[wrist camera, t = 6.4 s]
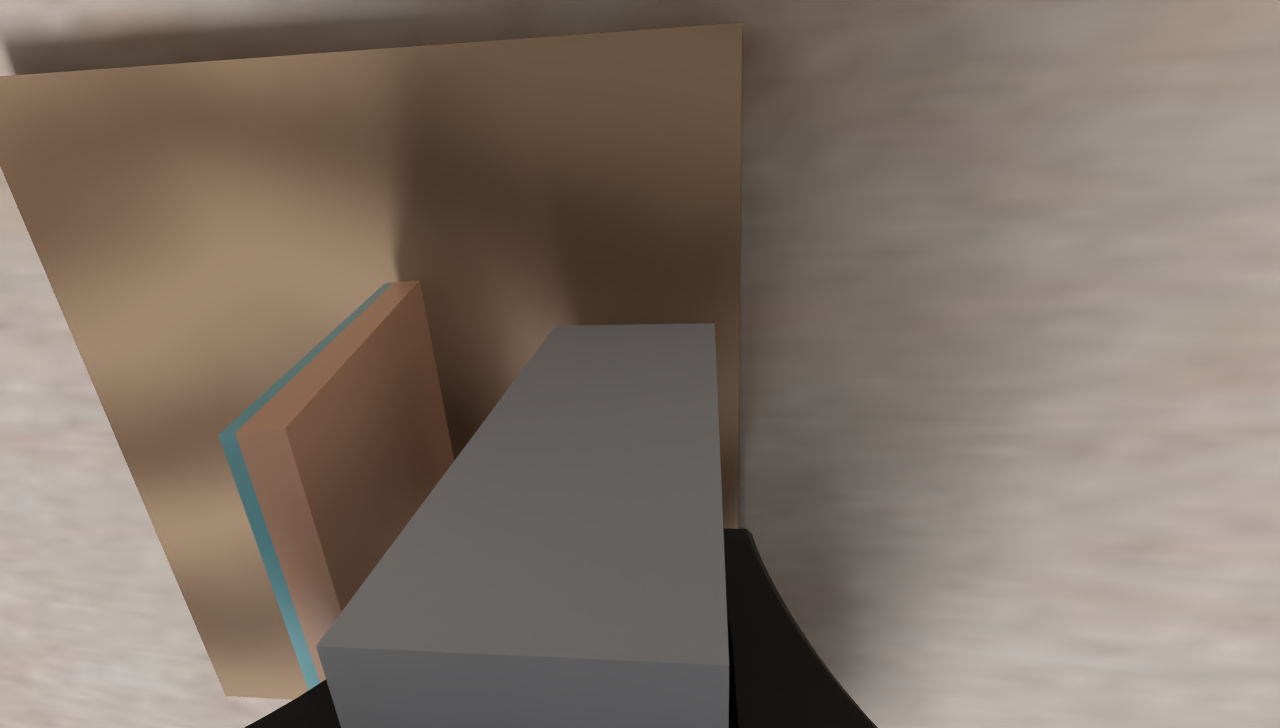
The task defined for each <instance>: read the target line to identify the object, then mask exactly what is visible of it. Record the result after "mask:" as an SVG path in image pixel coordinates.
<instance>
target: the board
mask: <svg viewBox="0 0 1280 728" xmlns="http://www.w3.org/2000/svg"><path fill="white" fill-rule="evenodd" d="M741 119H742V22H741V23H727V24H713V25H699V26H686V27H672V28H658V29H644V30H631V31H617V32H603V33H589V34H576V35H562V36H548V37H534V38H521V39H507V40H493V41H479V42H466V43H452V44H438V45H424V46H411V47H397V48H383V49H369V50H356V51H342V52H328V53H314V54H301V55H287V56H273V57H260V58H246V59H232V60H218V61H205V62H191V63H177V64H163V65H150V66H136V67H122V68H108V69H95V70H81V71H67V72H53V73H40V74H26V75H12V76H0V166H1V169H2V171H3V173H4V176H5V178H6V180H7V183H8V185H9V188H10V190H11V192H12V195H13V197H14V199H15V202H16V204H17V206H18V209H19V211H20V213H21V216H22V218H23V220H24V223H25V225H26V227H27V230H28V232H29V235H30V237H31V239H32V242H33V244H34V246H35V249H36V251H37V253H38V256H39V258H40V260H41V263H42V265H43V267H44V270H45V272H46V274H47V277H48V279H49V281H50V284H51V286H52V289H53V291H54V293H55V296H56V298H57V300H58V303H59V305H60V307H61V310H62V312H63V314H64V317H65V319H66V321H67V324H68V326H69V328H70V331H71V333H72V336H73V338H74V340H75V343H76V345H77V347H78V350H79V352H80V354H81V357H82V359H83V361H84V364H85V366H86V368H87V371H88V373H89V375H90V378H91V380H92V383H93V385H94V387H95V390H96V392H97V394H98V397H99V399H100V401H101V404H102V406H103V408H104V411H105V413H106V415H107V418H108V420H109V422H110V425H111V427H112V430H113V432H114V434H115V437H116V439H117V441H118V444H119V446H120V448H121V451H122V453H123V455H124V458H125V460H126V462H127V465H128V467H129V469H130V472H131V474H132V476H133V479H134V481H135V484H136V486H137V488H138V491H139V493H140V495H141V498H142V500H143V502H144V505H145V507H146V509H147V512H148V514H149V516H150V519H151V521H152V523H153V526H154V528H155V531H156V533H157V535H158V538H159V540H160V542H161V545H162V547H163V549H164V552H165V554H166V556H167V559H168V561H169V563H170V566H171V568H172V570H173V573H174V575H175V578H176V580H177V582H178V585H179V587H180V589H181V592H182V594H183V596H184V599H185V601H186V603H187V606H188V608H189V610H190V613H191V615H192V617H193V620H194V622H195V625H196V627H197V629H198V632H199V634H200V636H201V639H202V641H203V643H204V646H205V648H206V650H207V653H208V655H209V657H210V660H211V662H212V664H213V667H214V669H215V672H216V674H217V676H218V679H219V681H220V683H221V686H222V688H223V690H224V693H225V695H226V696H238V697H257V698H276V699H296V698H298V697H299V696H301V695H302V694H304V693H305V692H307V691H308V687H307V684H306V682H305V679H304V676H303V673H302V670H301V667H300V665H299V662H298V659H297V656H296V653H295V650H294V648H293V645H292V642H291V639H290V636H289V633H288V631H287V628H286V625H285V622H284V619H283V617H282V614H281V611H280V608H279V605H278V602H277V600H276V597H275V594H274V591H273V588H272V585H271V583H270V580H269V577H268V574H267V571H266V568H265V566H264V563H263V560H262V557H261V554H260V551H259V549H258V546H257V543H256V540H255V537H254V535H253V532H252V529H251V526H250V523H249V520H248V518H247V515H246V512H245V509H244V506H243V503H242V501H241V498H240V495H239V492H238V489H237V486H236V484H235V481H234V478H233V475H232V472H231V469H230V467H229V464H228V461H227V458H226V455H225V453H224V450H223V447H222V444H221V441H220V438H219V436H218V434H219V433H221V432H222V431H223V430H224V429H225V428H226V427H227V426H228V425H229V424H230V423H232V422H233V421H234V420H235V419H236V418H237V417H238V416H239V415H240V414H241V413H243V412H244V411H245V410H246V409H247V408H248V407H249V406H250V405H251V404H253V403H254V402H255V401H256V400H257V399H258V398H259V397H260V396H261V395H262V394H264V393H265V392H266V391H267V390H268V389H269V388H270V387H271V386H272V385H273V384H275V383H276V382H277V381H278V380H279V379H280V378H281V377H282V376H283V375H284V374H286V373H287V372H288V371H289V370H290V369H291V368H292V367H293V366H294V365H295V364H297V363H298V362H299V361H300V360H301V359H302V358H303V357H304V356H305V355H307V354H308V353H309V352H310V351H311V350H312V349H313V348H314V347H315V346H316V345H318V344H319V343H320V342H321V341H322V340H323V339H324V338H325V337H326V336H327V335H329V334H330V333H331V332H332V331H333V330H334V329H335V328H336V327H337V326H338V325H340V324H341V323H342V322H343V321H344V320H345V319H346V318H347V317H348V316H349V315H351V314H352V313H353V312H354V311H355V310H356V309H357V308H358V307H359V306H361V305H362V304H363V303H364V302H365V301H366V300H367V299H368V298H369V297H370V296H372V295H373V294H374V293H375V292H376V291H377V290H378V289H379V288H380V287H381V286H383V285H384V284H385V283H392V282H405V281H418V280H420V285H421V290H422V296H423V301H424V306H425V311H426V316H427V321H428V327H429V332H430V337H431V342H432V347H433V353H434V358H435V363H436V368H437V373H438V379H439V384H440V389H441V394H442V399H443V404H444V410H445V415H446V420H447V425H448V430H449V436H450V441H451V446H452V451H453V456H454V461H455V459H456V458H457V457H458V455H459V454H460V453H461V451H462V450H463V449H464V447H465V446H466V445H467V443H468V442H469V441H470V439H471V438H472V437H473V435H474V434H475V433H476V431H477V430H478V429H479V427H480V426H481V425H482V423H483V422H484V421H485V419H486V418H487V417H488V415H489V414H490V413H491V411H492V410H493V409H494V407H495V406H496V404H497V403H498V402H499V400H500V399H501V398H502V396H503V395H504V394H505V392H506V391H507V390H508V388H509V387H510V386H511V384H512V383H513V382H514V380H515V379H516V378H517V376H518V375H519V374H520V372H521V371H522V370H523V368H524V367H525V366H526V364H527V363H528V362H529V360H530V359H531V358H532V356H533V355H534V354H535V352H536V351H537V350H538V348H539V347H540V346H541V344H542V343H543V342H544V340H545V339H546V338H547V336H548V335H549V334H550V332H551V331H552V329H553V328H554V327H555V326H566V325H635V324H704V323H715V344H716V368H717V391H718V415H719V438H720V462H721V485H722V509H723V528H728V529H738V469H739V352H740V236H741Z"/></svg>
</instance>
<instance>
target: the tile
mask: <svg viewBox="0 0 1280 728" xmlns="http://www.w3.org/2000/svg"><path fill="white" fill-rule="evenodd" d="M218 436H219V438H220V441H221V444H222V447H223V450H224V453H225V455H226V458H227V461H228V464H229V467H230V469H231V472H232V475H233V478H234V481H235V484H236V486H237V489H238V492H239V495H240V498H241V501H242V503H243V506H244V509H245V512H246V515H247V518H248V520H249V523H250V526H251V529H252V532H253V535H254V537H255V540H256V543H257V546H258V549H259V551H260V554H261V557H262V560H263V563H264V566H265V568H266V571H267V574H268V577H269V580H270V583H271V585H272V588H273V591H274V594H275V597H276V600H277V602H278V605H279V608H280V611H281V614H282V617H283V619H284V622H285V625H286V628H287V631H288V633H289V636H290V639H291V642H292V645H293V648H294V650H295V653H296V656H297V659H298V662H299V665H300V667H301V670H302V673H303V676H304V679H305V682H306V684H307V687H308V690H310V689H312V688H313V687H315V686H316V685H318V684H319V683H321V682H322V681H324V680H326V677H325V674H324V671H323V667H322V664H321V661H320V658H319V654H318V651H317V648H316V646H317V644H318V643H319V642H320V640H321V639H322V638H323V636H324V635H325V634H326V632H327V631H328V630H329V628H330V627H331V626H332V624H333V623H334V621H335V620H336V619H337V617H338V616H339V615H340V613H341V612H342V611H343V609H344V608H345V607H346V605H347V604H348V603H349V601H350V600H351V599H352V597H353V596H354V595H355V593H356V592H357V591H358V589H359V588H360V587H361V585H362V584H363V583H364V581H365V580H366V579H367V577H368V576H369V575H370V573H371V572H372V571H373V569H374V568H375V567H376V565H377V564H378V563H379V561H380V560H381V559H382V557H383V556H384V555H385V553H386V552H387V550H388V549H389V548H390V546H391V545H392V544H393V542H394V541H395V540H396V538H397V537H398V536H399V534H400V533H401V532H402V530H403V529H404V528H405V526H406V525H407V524H408V522H409V521H410V520H411V518H412V517H413V516H414V514H415V513H416V512H417V510H418V509H419V508H420V506H421V505H422V504H423V502H424V501H425V500H426V498H427V497H428V496H429V494H430V493H431V492H432V490H433V489H434V488H435V486H436V485H437V484H438V482H439V481H440V480H441V478H442V477H443V475H444V474H445V473H446V471H447V470H448V469H449V467H450V466H451V465H452V463H453V462H454V456H453V451H452V446H451V441H450V436H449V430H448V425H447V420H446V415H445V410H444V404H443V399H442V394H441V389H440V384H439V379H438V373H437V368H436V363H435V358H434V353H433V347H432V342H431V337H430V332H429V327H428V321H427V316H426V311H425V306H424V301H423V296H422V290H421V285H420V280H418V281H405V282H392V283H385V284H384V285H383V286H381V287H380V288H379V289H378V290H377V291H376V292H375V293H374V294H373V295H372V296H370V297H369V298H368V299H367V300H366V301H365V302H364V303H363V304H362V305H361V306H359V307H358V308H357V309H356V310H355V311H354V312H353V313H352V314H351V315H349V316H348V317H347V318H346V319H345V320H344V321H343V322H342V323H341V324H340V325H338V326H337V327H336V328H335V329H334V330H333V331H332V332H331V333H330V334H329V335H327V336H326V337H325V338H324V339H323V340H322V341H321V342H320V343H319V344H318V345H316V346H315V347H314V348H313V349H312V350H311V351H310V352H309V353H308V354H307V355H305V356H304V357H303V358H302V359H301V360H300V361H299V362H298V363H297V364H295V365H294V366H293V367H292V368H291V369H290V370H289V371H288V372H287V373H286V374H284V375H283V376H282V377H281V378H280V379H279V380H278V381H277V382H276V383H275V384H273V385H272V386H271V387H270V388H269V389H268V390H267V391H266V392H265V393H264V394H262V395H261V396H260V397H259V398H258V399H257V400H256V401H255V402H254V403H253V404H251V405H250V406H249V407H248V408H247V409H246V410H245V411H244V412H243V413H241V414H240V415H239V416H238V417H237V418H236V419H235V420H234V421H233V422H232V423H230V424H229V425H228V426H227V427H226V428H225V429H224V430H223V431H222V432H221V433H219V434H218Z"/></svg>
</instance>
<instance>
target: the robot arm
mask: <svg viewBox="0 0 1280 728" xmlns="http://www.w3.org/2000/svg"><path fill="white" fill-rule="evenodd" d="M723 532H724V556H725V579H726V603H727V626H728V650H729V728H878V727H877V726H876V725H875V724H874V723H873V722H872V721H871V720H870V719H869V718H868V717H867V716H866V715H865V713H864V712H863V711H862V710H861V709H860V708H859V706H858V705H857V704H856V703H855V702H854V700H853V699H852V698H851V697H850V696H849V694H848V693H847V692H846V691H845V690H844V689H843V687H842V686H841V685H840V683H839V682H838V681H837V680H836V678H835V677H834V676H833V674H832V673H831V672H830V671H829V669H828V668H827V667H826V665H825V664H824V663H823V661H822V660H821V659H820V657H819V656H818V654H817V653H816V652H815V650H814V649H813V647H812V646H811V644H810V643H809V641H808V640H807V638H806V637H805V635H804V634H803V632H802V631H801V629H800V628H799V626H798V625H797V623H796V622H795V620H794V618H793V617H792V615H791V614H790V612H789V610H788V608H787V607H786V605H785V603H784V602H783V600H782V598H781V596H780V595H779V593H778V591H777V589H776V588H775V586H774V584H773V582H772V580H771V578H770V576H769V574H768V572H767V570H766V568H765V566H764V564H763V562H762V560H761V557H760V555H759V553H758V550H757V548H756V545H755V542H754V539H753V536H752V534H751V533H750V532H749V531H748V530H747V529H728V528H723ZM245 728H341V726H340V722H339V719H338V716H337V713H336V709H335V706H334V703H333V700H332V696H331V693H330V690H329V687H328V684H327V680H324V681H322V682H321V683H319V684H318V685H316V686H315V687H313V688H312V689H310V690H308V691H307V692H305V693H304V694H302V695H301V696H299V697H298V698H296V699H294V700H293V701H291V702H289V703H288V704H286V705H284V706H282V707H281V708H279V709H277V710H275V711H274V712H272V713H270V714H268V715H267V716H265V717H263V718H261V719H260V720H258V721H256V722H254V723H252V724H250V725H248V726H247V727H245Z"/></svg>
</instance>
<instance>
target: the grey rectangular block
mask: <svg viewBox="0 0 1280 728" xmlns="http://www.w3.org/2000/svg"><path fill="white" fill-rule="evenodd" d="M316 648H317V651H318V654H319V658H320V661H321V664H322V667H323V671H324V674H325V677H326V680H327V684H328V687H329V690H330V693H331V696H332V700H333V703H334V706H335V709H336V713H337V716H338V719H339V722H340V726H341V728H729V650H728V626H727V603H726V579H725V556H724V532H723V509H722V485H721V462H720V438H719V415H718V391H717V368H716V344H715V323H704V324H635V325H566V326H555V327H554V328H553V329H552V331H551V332H550V334H549V335H548V336H547V338H546V339H545V340H544V342H543V343H542V344H541V346H540V347H539V348H538V350H537V351H536V352H535V354H534V355H533V356H532V358H531V359H530V360H529V362H528V363H527V364H526V366H525V367H524V368H523V370H522V371H521V372H520V374H519V375H518V376H517V378H516V379H515V380H514V382H513V383H512V384H511V386H510V387H509V388H508V390H507V391H506V392H505V394H504V395H503V396H502V398H501V399H500V400H499V402H498V403H497V404H496V406H495V407H494V409H493V410H492V411H491V413H490V414H489V415H488V417H487V418H486V419H485V421H484V422H483V423H482V425H481V426H480V427H479V429H478V430H477V431H476V433H475V434H474V435H473V437H472V438H471V439H470V441H469V442H468V443H467V445H466V446H465V447H464V449H463V450H462V451H461V453H460V454H459V455H458V457H457V458H456V459H455V461H454V462H453V463H452V465H451V466H450V467H449V469H448V470H447V471H446V473H445V474H444V475H443V477H442V478H441V480H440V481H439V482H438V484H437V485H436V486H435V488H434V489H433V490H432V492H431V493H430V494H429V496H428V497H427V498H426V500H425V501H424V502H423V504H422V505H421V506H420V508H419V509H418V510H417V512H416V513H415V514H414V516H413V517H412V518H411V520H410V521H409V522H408V524H407V525H406V526H405V528H404V529H403V530H402V532H401V533H400V534H399V536H398V537H397V538H396V540H395V541H394V542H393V544H392V545H391V546H390V548H389V549H388V550H387V552H386V553H385V555H384V556H383V557H382V559H381V560H380V561H379V563H378V564H377V565H376V567H375V568H374V569H373V571H372V572H371V573H370V575H369V576H368V577H367V579H366V580H365V581H364V583H363V584H362V585H361V587H360V588H359V589H358V591H357V592H356V593H355V595H354V596H353V597H352V599H351V600H350V601H349V603H348V604H347V605H346V607H345V608H344V609H343V611H342V612H341V613H340V615H339V616H338V617H337V619H336V620H335V621H334V623H333V624H332V626H331V627H330V628H329V630H328V631H327V632H326V634H325V635H324V636H323V638H322V639H321V640H320V642H319V643H318V644H317V646H316Z"/></svg>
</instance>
